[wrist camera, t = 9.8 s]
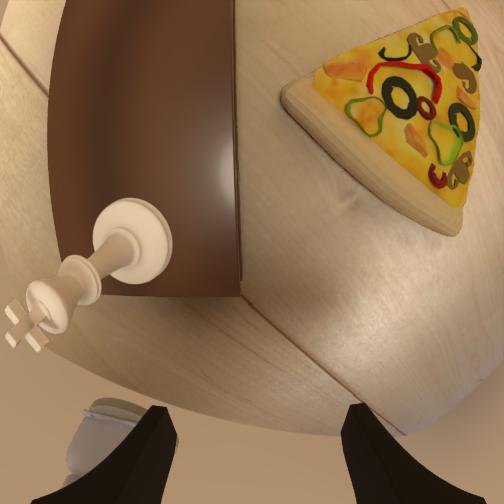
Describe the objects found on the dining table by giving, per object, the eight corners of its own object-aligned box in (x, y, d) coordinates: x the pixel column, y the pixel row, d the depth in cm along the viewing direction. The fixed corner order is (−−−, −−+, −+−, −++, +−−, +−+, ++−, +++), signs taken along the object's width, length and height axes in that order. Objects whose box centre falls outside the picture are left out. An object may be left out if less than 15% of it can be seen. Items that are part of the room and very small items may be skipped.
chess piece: (134, 295, 16) (45, 415, 6) (84, 234, 15) (-40, 310, 5) (190, 248, 15) (104, 377, 5) (134, 179, 14) (-16, 220, 4)
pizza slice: (263, 119, 15) (264, 111, 13) (389, -42, 10) (401, -58, 7) (435, 249, 18) (457, 263, 15) (512, 74, 12) (531, 71, 9)
